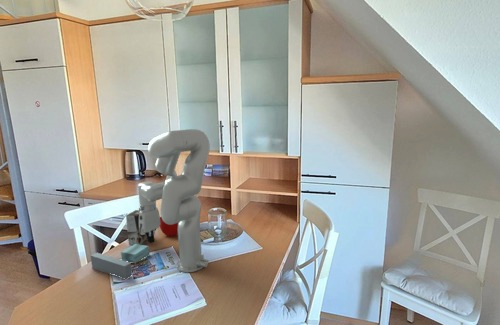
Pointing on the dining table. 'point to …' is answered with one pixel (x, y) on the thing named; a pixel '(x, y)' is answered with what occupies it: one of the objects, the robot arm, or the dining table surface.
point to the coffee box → (134, 229)
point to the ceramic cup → (169, 228)
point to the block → (135, 253)
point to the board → (111, 265)
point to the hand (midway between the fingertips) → (150, 242)
